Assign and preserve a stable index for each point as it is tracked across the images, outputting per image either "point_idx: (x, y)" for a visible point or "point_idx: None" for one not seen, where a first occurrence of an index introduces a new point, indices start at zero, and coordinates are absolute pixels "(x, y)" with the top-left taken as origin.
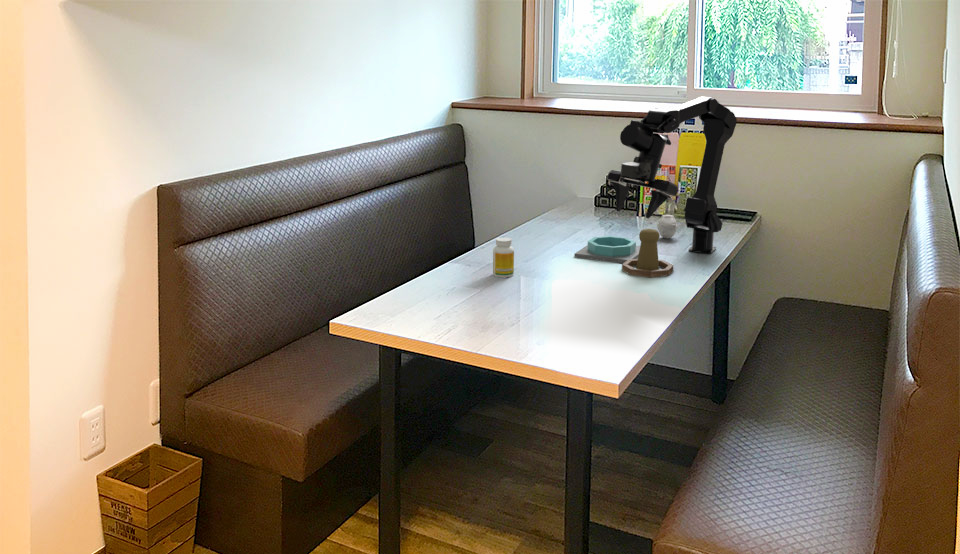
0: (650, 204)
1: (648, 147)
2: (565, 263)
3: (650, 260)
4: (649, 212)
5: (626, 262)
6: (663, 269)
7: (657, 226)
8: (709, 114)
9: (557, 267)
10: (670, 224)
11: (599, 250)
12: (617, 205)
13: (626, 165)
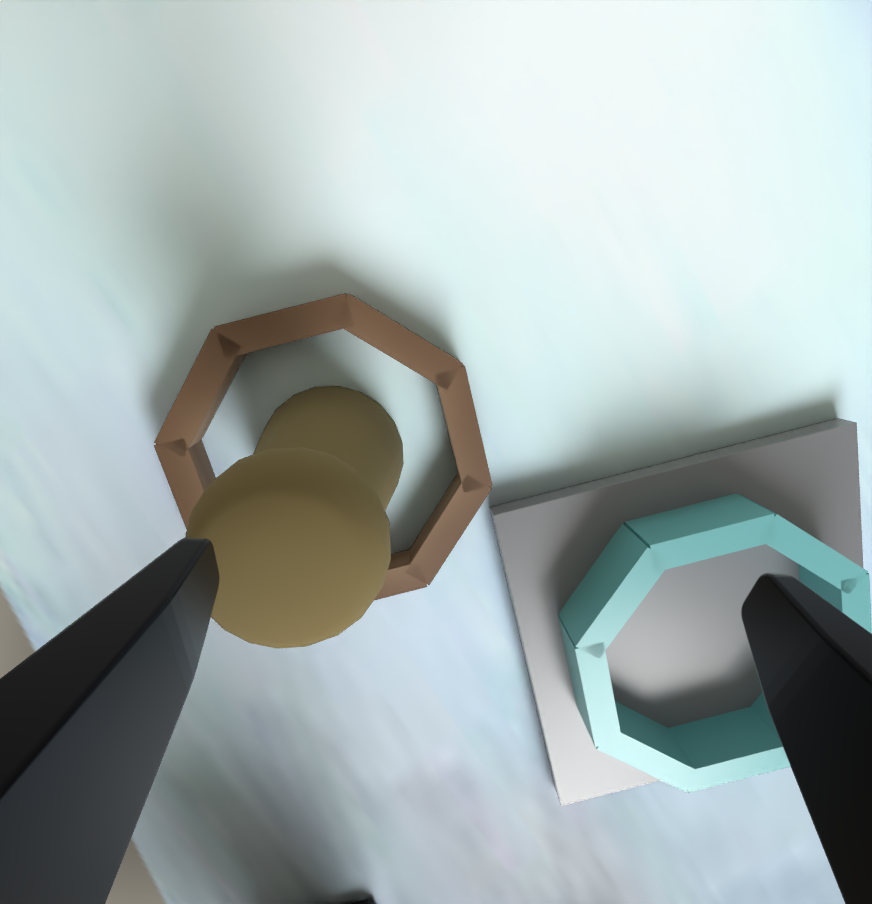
0: (7, 735)
1: None
2: (824, 252)
3: (268, 430)
4: (106, 598)
5: (465, 423)
6: (184, 433)
7: None
8: None
9: (828, 126)
10: None
11: (727, 509)
12: (844, 631)
13: None
